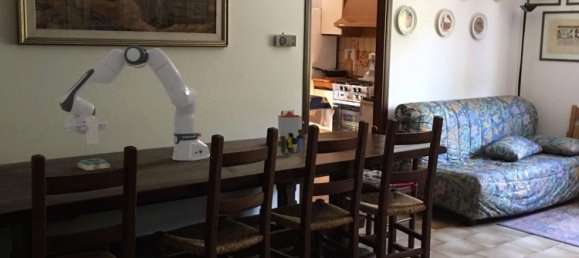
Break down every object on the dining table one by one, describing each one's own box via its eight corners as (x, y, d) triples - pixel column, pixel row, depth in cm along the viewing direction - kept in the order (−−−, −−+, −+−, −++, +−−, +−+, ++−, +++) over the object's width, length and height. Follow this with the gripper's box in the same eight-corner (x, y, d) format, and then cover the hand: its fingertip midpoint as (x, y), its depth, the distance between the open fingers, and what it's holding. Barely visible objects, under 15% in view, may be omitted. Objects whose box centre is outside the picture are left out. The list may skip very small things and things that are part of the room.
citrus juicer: (307, 142, 387) (307, 111, 384) (281, 144, 382) (281, 112, 380) (300, 139, 402) (300, 109, 399) (275, 140, 397) (274, 110, 395)
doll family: (292, 150, 357) (291, 127, 355) (306, 150, 354) (306, 128, 352) (277, 156, 335) (277, 132, 334) (293, 157, 332) (292, 132, 331)
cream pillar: (94, 142, 306) (94, 115, 304) (98, 143, 303) (97, 115, 301) (86, 143, 303) (85, 115, 302) (89, 144, 300) (88, 116, 298)
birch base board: (100, 164, 313) (100, 157, 312) (110, 167, 304) (109, 160, 303) (77, 167, 305) (77, 160, 305) (86, 170, 296) (86, 163, 296)
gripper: (61, 121, 305) (71, 123, 294) (100, 118, 318) (111, 120, 307) (62, 133, 306) (72, 136, 295) (101, 130, 319) (112, 133, 308)
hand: (92, 128), depth 301 cm, fingers closed on cream pillar, 4 cm apart
